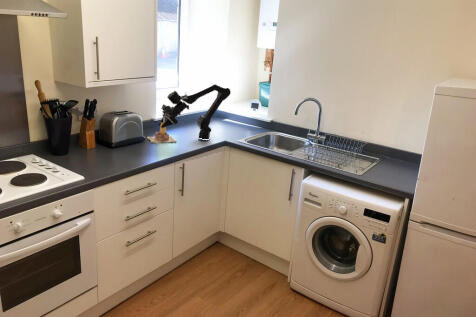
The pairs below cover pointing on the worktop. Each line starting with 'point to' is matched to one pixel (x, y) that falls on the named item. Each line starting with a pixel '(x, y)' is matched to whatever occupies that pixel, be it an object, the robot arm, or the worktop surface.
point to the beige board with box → (161, 138)
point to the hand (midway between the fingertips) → (160, 126)
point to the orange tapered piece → (162, 130)
